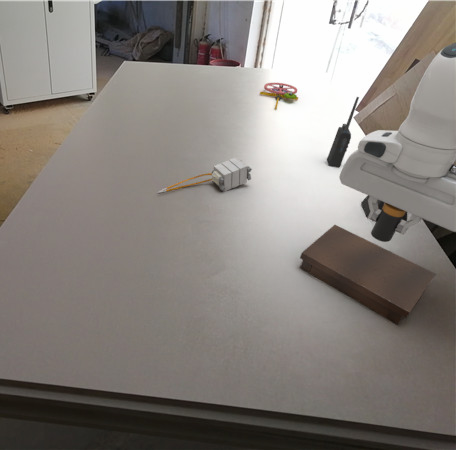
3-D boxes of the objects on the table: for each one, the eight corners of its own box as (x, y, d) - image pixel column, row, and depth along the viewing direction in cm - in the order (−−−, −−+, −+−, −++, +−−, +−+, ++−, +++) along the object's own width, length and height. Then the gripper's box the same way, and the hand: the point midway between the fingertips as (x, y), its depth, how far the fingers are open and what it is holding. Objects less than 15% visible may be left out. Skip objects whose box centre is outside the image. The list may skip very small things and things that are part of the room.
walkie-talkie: (340, 168, 115) (366, 99, 103) (328, 166, 116) (353, 97, 104) (338, 160, 119) (362, 93, 107) (326, 158, 120) (349, 91, 108)
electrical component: (168, 215, 98) (166, 199, 94) (157, 202, 102) (155, 186, 98) (251, 181, 103) (252, 165, 100) (238, 170, 108) (238, 154, 104)
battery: (394, 236, 72) (411, 204, 68) (386, 244, 70) (404, 211, 66) (375, 227, 74) (390, 195, 70) (367, 235, 72) (383, 202, 68)
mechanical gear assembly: (298, 88, 171) (262, 84, 174) (301, 78, 168) (264, 74, 172) (296, 113, 148) (255, 108, 151) (299, 101, 145) (257, 97, 149)
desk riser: (426, 288, 77) (436, 273, 75) (399, 328, 69) (409, 312, 67) (329, 238, 88) (334, 224, 86) (296, 267, 80) (301, 252, 78)
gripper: (504, 174, 59) (456, 246, 67) (366, 127, 70) (340, 194, 78) (494, 188, 55) (445, 263, 63) (350, 137, 66) (324, 206, 75)
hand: (386, 225), depth 71 cm, fingers closed on battery, 3 cm apart
